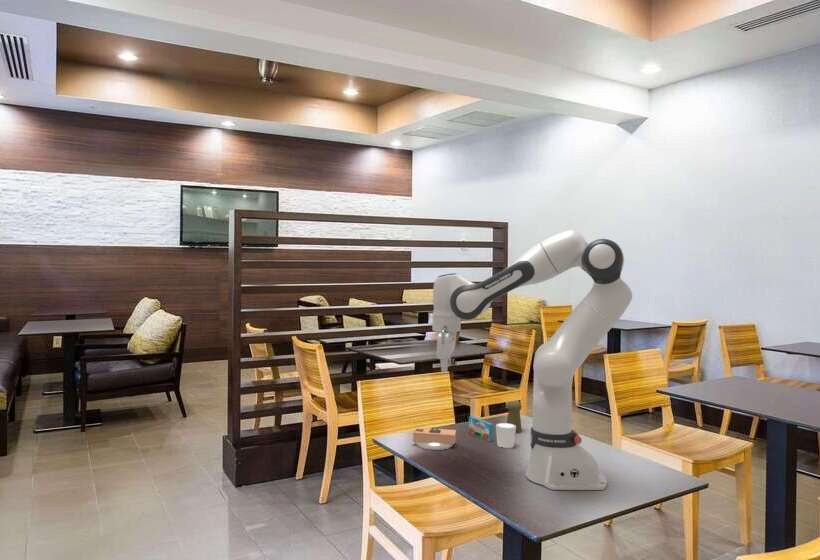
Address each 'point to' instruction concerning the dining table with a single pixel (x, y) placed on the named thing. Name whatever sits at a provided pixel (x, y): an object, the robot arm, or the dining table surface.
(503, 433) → the white cylindrical downlight
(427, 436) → the orange letter a block
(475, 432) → the blue printed cardboard box
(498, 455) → the dining table surface
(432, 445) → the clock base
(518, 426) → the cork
